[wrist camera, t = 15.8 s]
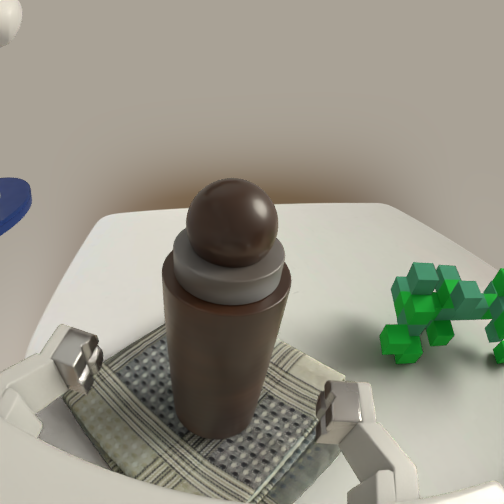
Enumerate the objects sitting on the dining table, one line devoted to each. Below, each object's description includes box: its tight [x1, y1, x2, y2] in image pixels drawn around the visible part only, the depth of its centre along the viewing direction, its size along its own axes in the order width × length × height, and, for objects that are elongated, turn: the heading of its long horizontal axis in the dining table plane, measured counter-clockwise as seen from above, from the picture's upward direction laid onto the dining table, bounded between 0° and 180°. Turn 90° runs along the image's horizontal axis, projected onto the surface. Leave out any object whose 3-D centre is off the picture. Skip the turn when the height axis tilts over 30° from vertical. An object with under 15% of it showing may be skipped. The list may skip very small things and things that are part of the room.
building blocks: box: [380, 262, 504, 364], centre depth 28 cm, size 20×13×13 cm, turn 101°
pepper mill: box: [162, 178, 291, 440], centre depth 16 cm, size 6×6×16 cm
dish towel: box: [61, 324, 345, 504], centre depth 21 cm, size 19×18×3 cm
